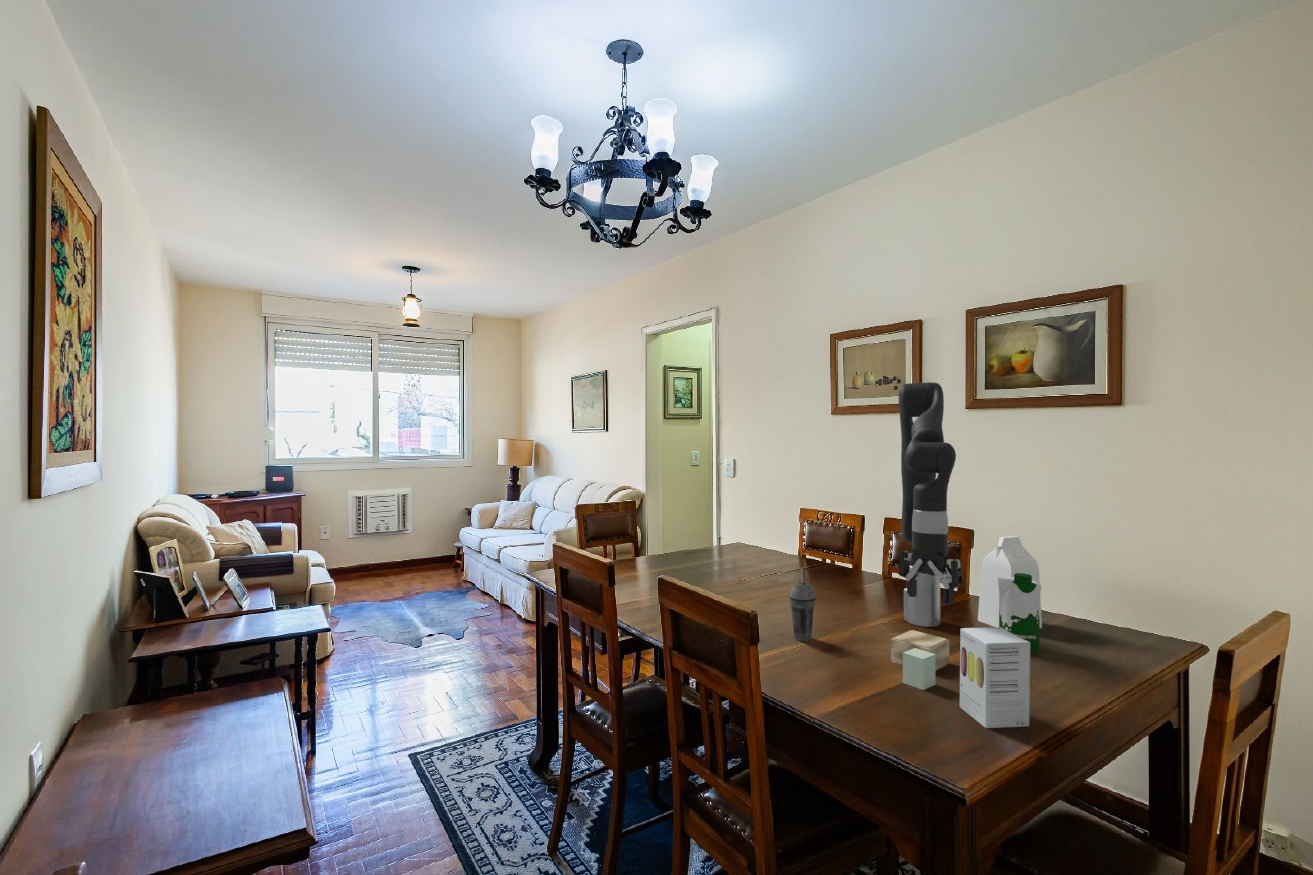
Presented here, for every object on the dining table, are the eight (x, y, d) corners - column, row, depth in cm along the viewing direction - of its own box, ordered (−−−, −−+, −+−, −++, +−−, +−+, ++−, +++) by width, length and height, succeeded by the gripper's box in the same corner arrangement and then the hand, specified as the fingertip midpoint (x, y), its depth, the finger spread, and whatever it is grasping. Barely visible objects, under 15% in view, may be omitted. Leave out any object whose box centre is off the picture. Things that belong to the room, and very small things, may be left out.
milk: (1008, 616, 191) (1008, 532, 190) (1041, 627, 180) (1042, 539, 179) (977, 620, 187) (977, 535, 186) (1010, 632, 176) (1010, 541, 175)
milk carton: (1009, 654, 159) (1009, 576, 159) (993, 641, 168) (993, 568, 168) (1045, 655, 158) (1045, 577, 158) (1027, 642, 167) (1027, 569, 167)
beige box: (890, 662, 154) (890, 637, 154) (910, 652, 161) (910, 629, 161) (930, 674, 147) (930, 648, 147) (949, 664, 153) (949, 639, 153)
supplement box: (958, 707, 129) (958, 627, 129) (999, 705, 130) (1000, 625, 130) (986, 729, 120) (986, 643, 119) (1031, 727, 120) (1031, 641, 120)
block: (902, 682, 142) (902, 652, 142) (915, 677, 145) (915, 648, 144) (923, 690, 138) (923, 659, 137) (935, 684, 140) (935, 654, 140)
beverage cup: (818, 636, 173) (818, 565, 173) (813, 644, 167) (813, 571, 166) (792, 633, 176) (792, 563, 176) (786, 641, 170) (786, 568, 169)
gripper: (892, 527, 144) (892, 596, 144) (950, 535, 133) (950, 610, 133) (911, 524, 149) (911, 591, 149) (969, 532, 137) (969, 605, 137)
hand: (929, 600), depth 141 cm, fingers open, 8 cm apart
